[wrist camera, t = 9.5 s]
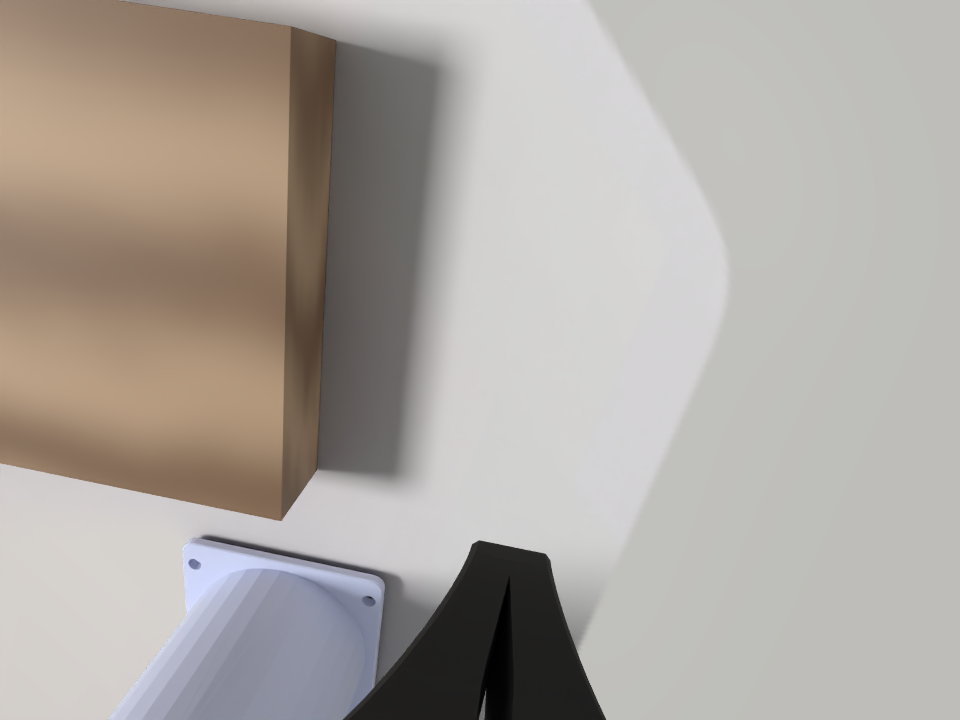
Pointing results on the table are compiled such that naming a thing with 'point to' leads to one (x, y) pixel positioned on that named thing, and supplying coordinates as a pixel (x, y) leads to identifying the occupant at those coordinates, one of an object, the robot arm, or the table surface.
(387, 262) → the table surface
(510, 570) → the robot arm
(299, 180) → the walnut plate
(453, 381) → the table surface
